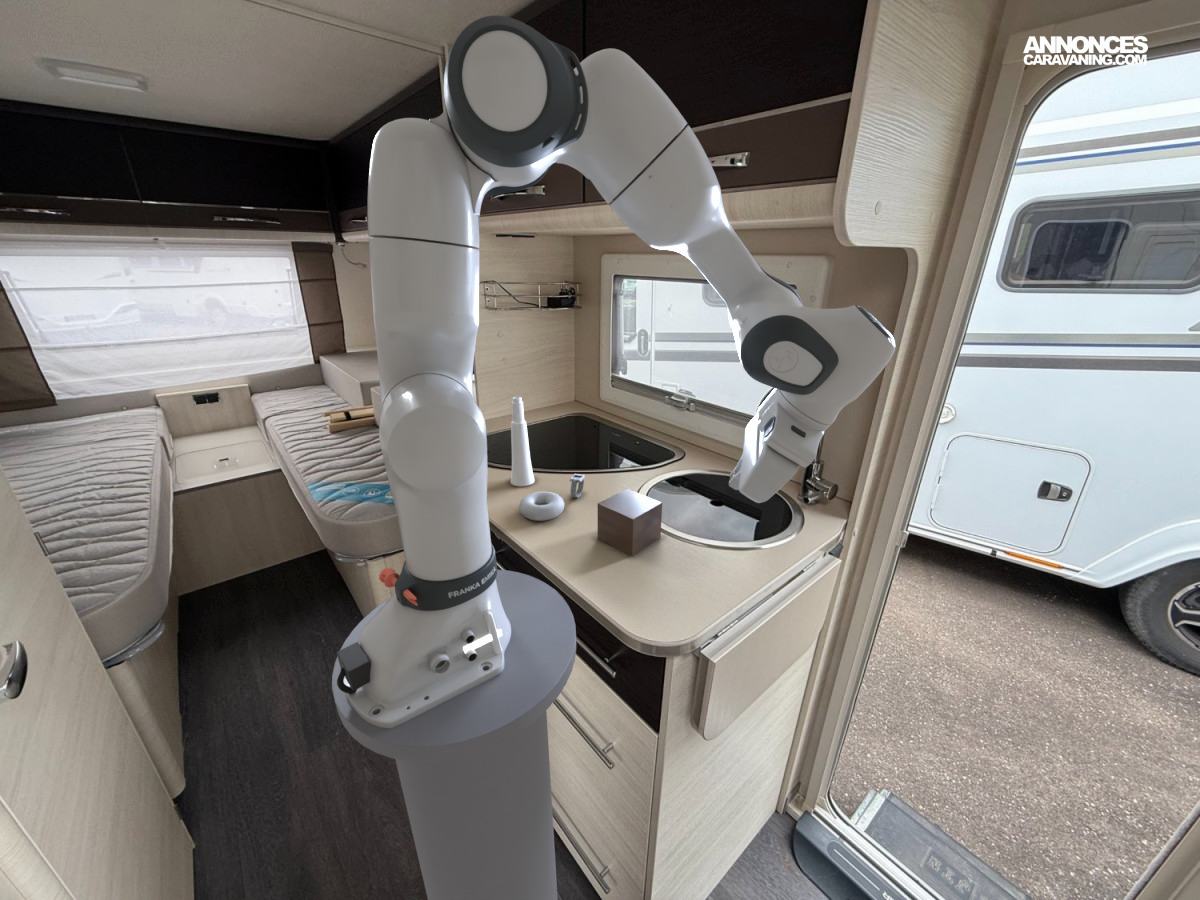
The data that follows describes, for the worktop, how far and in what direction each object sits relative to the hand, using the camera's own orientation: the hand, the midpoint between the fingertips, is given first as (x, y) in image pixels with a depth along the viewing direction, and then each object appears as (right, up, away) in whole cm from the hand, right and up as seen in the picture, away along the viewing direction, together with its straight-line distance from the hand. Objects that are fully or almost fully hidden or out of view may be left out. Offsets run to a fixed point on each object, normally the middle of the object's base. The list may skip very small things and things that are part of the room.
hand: (732, 483), depth 74 cm
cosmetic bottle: (-41, -3, +45) cm, 61 cm away
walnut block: (-15, -13, +20) cm, 28 cm away
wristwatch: (-26, -6, +38) cm, 47 cm away
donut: (-34, -9, +30) cm, 46 cm away
